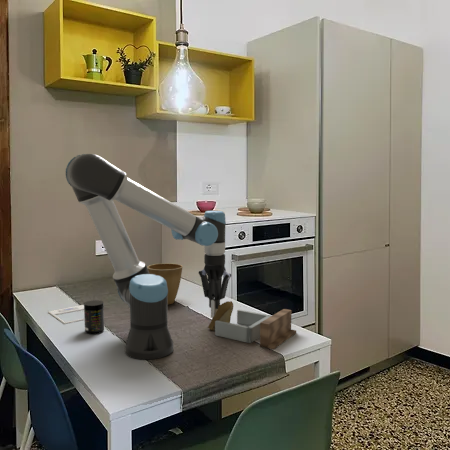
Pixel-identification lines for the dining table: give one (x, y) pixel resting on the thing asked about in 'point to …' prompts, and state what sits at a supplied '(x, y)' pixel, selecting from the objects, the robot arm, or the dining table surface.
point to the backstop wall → (276, 329)
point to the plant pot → (168, 277)
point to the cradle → (241, 331)
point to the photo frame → (66, 310)
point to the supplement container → (94, 316)
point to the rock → (222, 314)
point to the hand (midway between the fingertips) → (214, 316)
